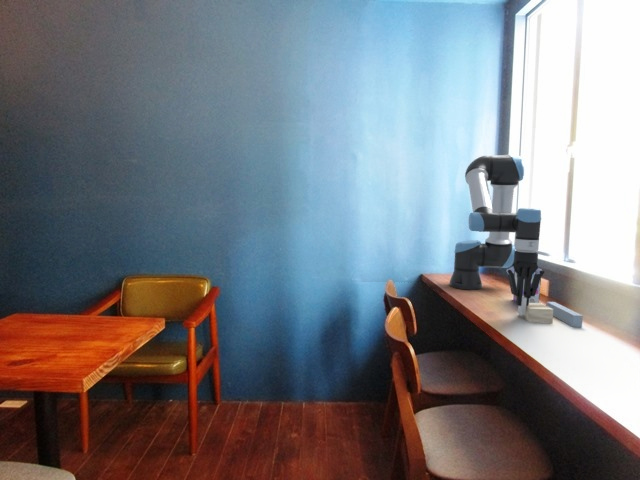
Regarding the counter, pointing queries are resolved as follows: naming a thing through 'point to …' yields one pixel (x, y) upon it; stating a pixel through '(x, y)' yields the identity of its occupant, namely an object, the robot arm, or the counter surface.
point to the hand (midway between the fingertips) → (521, 314)
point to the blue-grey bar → (566, 314)
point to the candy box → (533, 298)
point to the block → (538, 313)
